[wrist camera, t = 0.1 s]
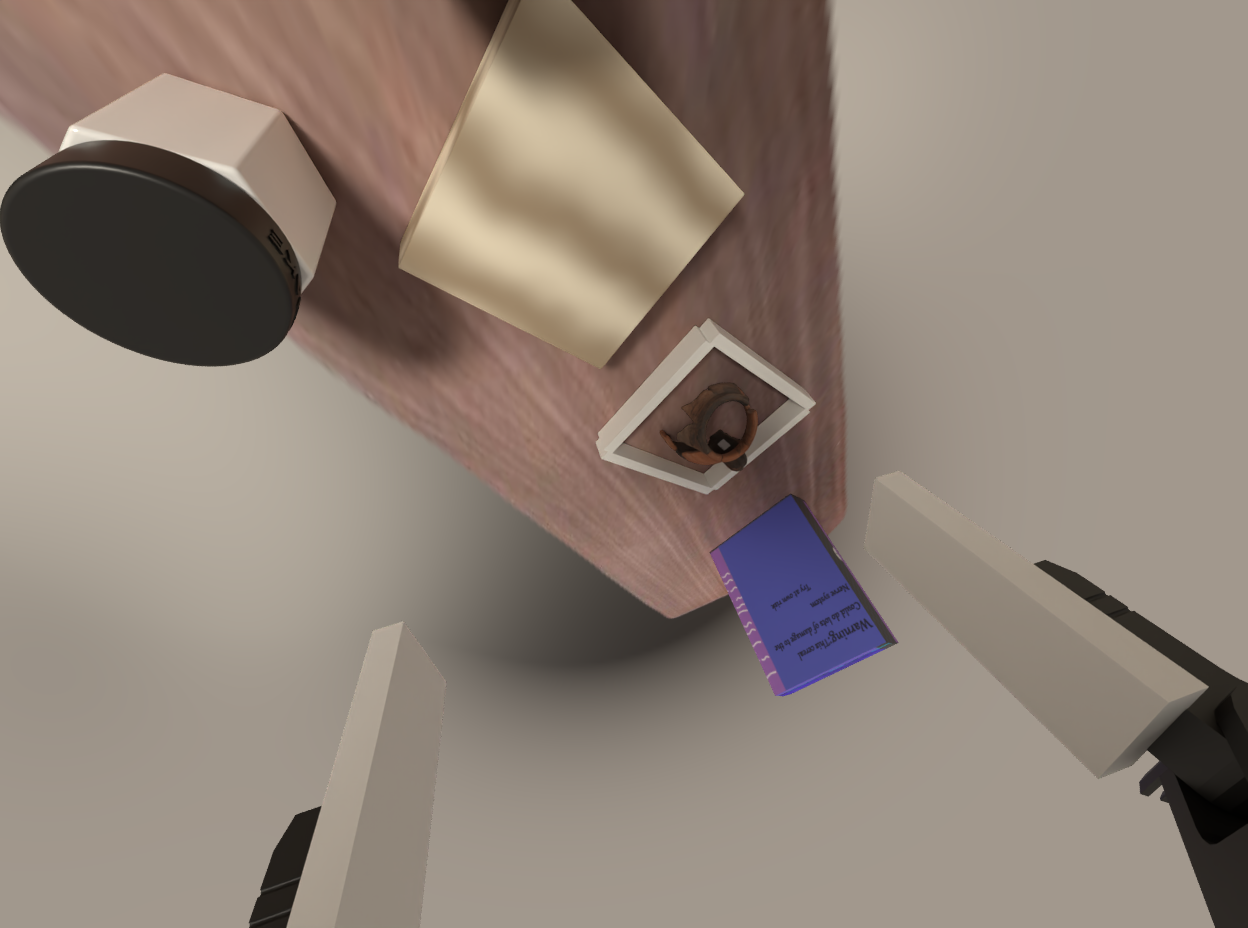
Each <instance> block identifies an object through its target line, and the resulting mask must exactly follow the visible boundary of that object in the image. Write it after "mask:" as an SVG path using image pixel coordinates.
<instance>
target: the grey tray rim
mask: <svg viewBox="0 0 1248 928" xmlns="http://www.w3.org/2000/svg"><path fill="white" fill-rule="evenodd" d="M713 347H716V348H717V349H719V350H720V351H722V352H723V353H724V354H726V355H727V356H729V357H730V358H732V359H733V360H735V361H736V362H738V363H739V364H741V365H742V366H743V367H745V368H746V369H748V370H749V371H751V372H752V373H754V374H755V375H757V376H758V377H759V378H761V379H762V380H764V381H765V382H767V383H768V384H770V385H771V386H773V387H774V388H776V389H777V390H778V391H780V392H781V393H783V394H784V395H786V396H787V397H789V398H790V399H788V400H787V401H786V402H785V403H784V404H783V405H782V406H780V407H779V408H778V409H777V410H776V411H775V412H774V413H772V414H771V415H770V416H769V417H768V418H767V419H766V420H764V421H763V422H762V423H761V424H760V425H759V426H758V427H757V432H756V435H755V437H754V440H753V442H752V444H751V445H750V447H749V449H748V450H747V451H746V452H745V454H746V456H747V464H746V465H748V464H749V463H750V462H751V461H752V460H754V459H755V458H756V457H757V456H758V455H760V454H761V453H762V452H763V451H764V450H766V449H767V448H768V447H769V446H770V445H772V444H773V443H774V442H775V441H776V440H778V439H779V438H780V437H781V436H782V435H784V434H785V433H786V432H787V431H788V430H790V429H791V428H792V427H793V426H794V425H796V424H797V423H798V422H799V421H800V420H802V419H803V418H804V417H805V416H806V415H808V414H809V413H810V411H809V409H810V408H811V407H813V406H814V405H815V404H816V402H815V401H814V400H813V399H812V397H811V396H810V395H809V394H808V393H807V391H806V390H805V389H804V388H802V387H801V386H800V385H798V384H797V383H796V382H794V381H793V380H792V379H790V378H789V377H788V376H786V375H785V374H784V373H782V372H781V371H779V370H778V369H777V368H775V367H774V366H773V365H771V364H770V363H769V362H767V361H766V360H765V359H763V358H762V357H761V356H759V355H758V354H757V353H755V352H754V351H753V350H751V349H750V348H748V347H747V346H746V345H744V344H743V343H742V342H740V341H739V340H738V339H736V338H735V337H734V336H732V335H731V334H730V333H728V332H727V331H726V330H724V329H723V328H722V327H720V326H719V325H717V324H716V323H715V322H713V321H712V320H711V319H709V318H708V319H707V320H706V321H705V322H704V323H703V325H702V326H701V327H700V328H699V327H697V326H696V325H695V326H694V327H693V328H692V329H691V330H690V331H689V333H688V334H687V335H686V336H685V337H684V338H683V339H682V340H681V341H680V343H679V344H678V345H677V346H676V347H675V348H674V349H673V350H672V351H671V353H670V354H669V355H668V356H667V357H666V358H665V359H664V360H663V361H662V363H661V364H660V365H659V366H658V367H657V368H656V369H655V370H654V371H653V373H652V374H651V375H650V376H649V377H648V378H647V379H646V380H645V381H644V383H643V384H642V385H641V386H640V387H639V388H638V389H637V390H636V391H635V393H634V394H633V395H632V396H631V397H630V398H629V399H628V400H627V401H626V403H625V404H624V405H623V406H622V407H621V408H620V409H619V410H618V411H617V413H616V414H615V415H614V416H613V417H612V418H611V419H610V420H609V421H608V423H607V424H606V425H605V426H604V427H603V428H602V429H601V430H600V431H599V433H598V435H599V439H598V440H597V441H596V445H597V448H598V451H599V454H600V457H601V459H603V460H606V461H609V462H612V463H615V464H618V465H621V466H624V467H627V468H630V469H633V470H636V471H639V472H642V473H645V474H648V475H650V476H653V477H656V478H659V479H662V480H665V481H668V482H671V483H674V484H677V485H680V486H683V487H686V488H689V489H692V490H695V491H698V492H701V493H704V494H707V495H708V494H709V493H710V492H711V491H712V490H714V489H715V490H718V489H719V488H720V487H721V486H722V485H724V484H725V483H726V482H727V481H728V480H730V479H731V478H732V477H733V476H734V475H736V474H737V473H738V472H739V471H738V472H736V471H732V470H730V469H729V468H728V467H727V466H726V465H725V464H724V463H723V462H721V463H717V464H714V465H713V466H712V467H711V468H710V469H708V470H707V471H706V472H705V473H704V474H703V473H700V472H698V471H695V470H693V469H690V468H687V467H685V466H682V465H680V464H677V463H674V462H672V461H669V460H666V459H664V458H661V457H659V456H656V455H653V454H651V453H648V452H646V451H643V450H640V449H638V448H635V447H632V446H630V445H627V444H625V443H622V442H623V441H624V440H625V439H626V438H627V437H628V436H629V435H630V434H631V433H632V432H633V431H634V430H635V429H636V428H637V427H638V426H639V425H640V424H641V423H642V421H643V420H644V419H645V418H646V417H647V416H648V415H649V414H650V413H651V412H652V411H653V410H654V409H655V408H656V407H657V406H658V405H659V404H660V403H661V402H662V401H663V399H664V398H665V397H666V396H667V395H668V394H669V393H670V392H671V391H672V390H673V389H674V388H675V387H676V386H677V385H678V384H679V383H680V382H681V381H682V380H683V378H684V377H685V376H686V375H687V374H688V373H689V372H690V371H691V370H692V369H693V368H694V367H695V366H696V365H697V364H698V363H699V362H700V361H701V360H702V359H703V358H704V356H705V355H706V354H707V353H708V352H709V351H710V350H711V349H712V348H713ZM746 465H745V466H746ZM745 466H744V467H745Z"/></svg>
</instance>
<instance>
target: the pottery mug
mask: <svg viewBox="0 0 1248 928" xmlns="http://www.w3.org/2000/svg"><path fill="white" fill-rule="evenodd" d="M728 401H737V402H740V403H741V404H743V406H744V407H745V411H746V415H747V425H746V430H745V433H744V436H743V438H742V440H740V439H736V438H734V437H731V436H729V435H728V434H727V433H724V432H723V431H722V430H719V431H717V432H716V433H715V434H714V435H712V436H710V440H709V442H708V444H707V441H706V427H707V423H708V420H709V418H710V417H711V415H712V413H713V412H714V411H715V409H716V408H717V407H718V406H720V405H721V404H723V403H725V402H728ZM682 409H683V410H684V411H685V412H686V413H687V414H688V416H689V417H690V418H691V419H692V421H693V424H690V425H687V426H686V427H685V428H684V429H683V430H682V431H681V432H679V433H678V434H677V440H678V441H680V442H674V441H672V440H671V439H670V437H669V436H668V435H666V433H665V432H664V431H663V430H661V431H660V434H661V436H662V437H663V439H664V440H665V441H666V443H667V444H668V445H669V446H670V447H671V448H672V449H673V450H674V451H676V453H678V455H680V456H681V457H682V458H684V459H687V461H690V462H693V463H697V464H702V465H712V464H717V463H721V462H723V463H724V464H725V465H726V466H727V467H728V468H729V469H730V470H732V471H736V472H738V471H741V470H743V468H744V466H745V465H746V464H747V456H746V454H745V452H746V451H747V450H748V449H749V447H750V445H751V444H752V442H753V440H754V437H755V435H756V432H757V426H758V416H757V412H756V410H754V409H750V405H749V398H748V397H747V396H745V395H744V393H743V392H742V390H741V389H740V388H739V387H737V386H736V385H735V384H734V383H718V384H715V385H711V386H709V387H708V390H704V391H703V392H702V393H700V395H699V396H698V397H697V398H696V399H695V400H694V401H693V402H692V403H690V404H687V405H685V406H683V407H682Z"/></svg>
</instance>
